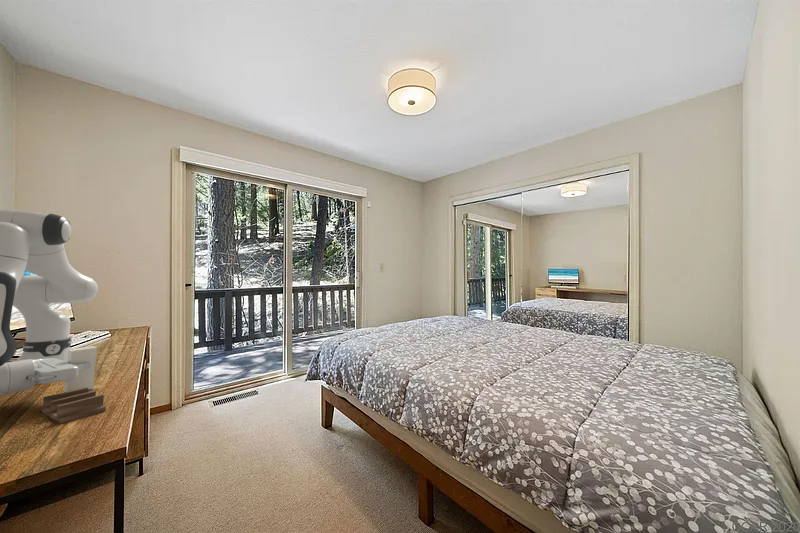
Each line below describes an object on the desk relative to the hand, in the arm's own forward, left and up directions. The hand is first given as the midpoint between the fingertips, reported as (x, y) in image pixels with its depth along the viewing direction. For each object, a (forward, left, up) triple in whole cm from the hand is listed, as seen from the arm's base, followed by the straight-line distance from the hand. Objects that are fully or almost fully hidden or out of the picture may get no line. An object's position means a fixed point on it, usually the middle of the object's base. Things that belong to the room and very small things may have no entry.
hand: (87, 363), depth 100 cm
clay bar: (-1, -1, -9) cm, 9 cm away
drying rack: (+15, -7, -10) cm, 19 cm away
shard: (0, -1, -11) cm, 11 cm away
